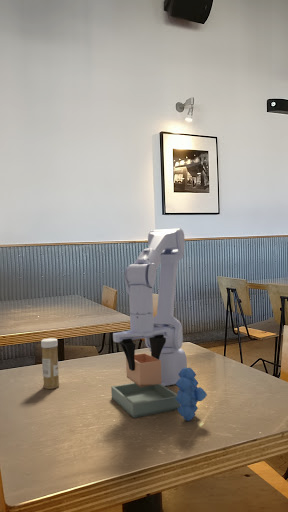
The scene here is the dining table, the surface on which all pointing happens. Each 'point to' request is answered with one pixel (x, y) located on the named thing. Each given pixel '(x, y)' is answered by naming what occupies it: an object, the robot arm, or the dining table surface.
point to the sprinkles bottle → (50, 363)
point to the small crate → (145, 370)
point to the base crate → (144, 399)
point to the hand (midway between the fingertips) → (143, 367)
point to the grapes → (188, 393)
